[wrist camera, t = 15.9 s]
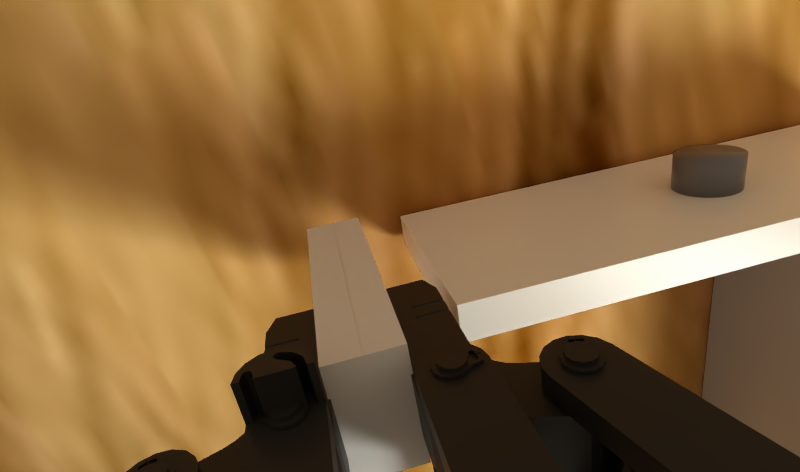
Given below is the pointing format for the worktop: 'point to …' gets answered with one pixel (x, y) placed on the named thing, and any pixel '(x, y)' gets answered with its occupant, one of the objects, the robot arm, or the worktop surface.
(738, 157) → the front panel
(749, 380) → the housing
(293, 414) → the robot arm
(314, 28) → the worktop surface
